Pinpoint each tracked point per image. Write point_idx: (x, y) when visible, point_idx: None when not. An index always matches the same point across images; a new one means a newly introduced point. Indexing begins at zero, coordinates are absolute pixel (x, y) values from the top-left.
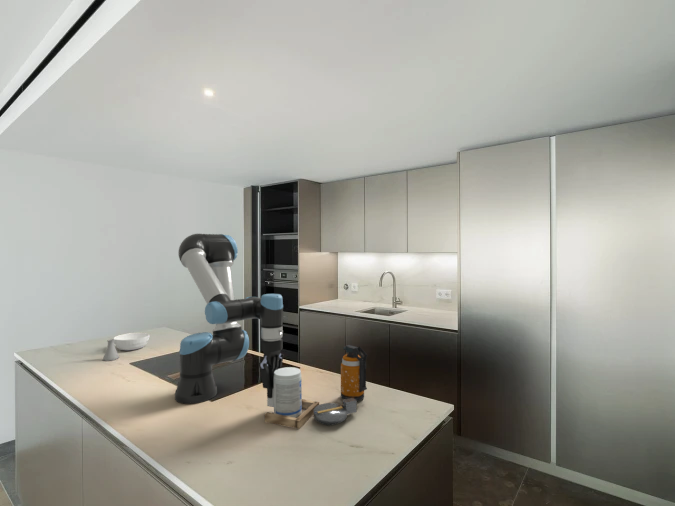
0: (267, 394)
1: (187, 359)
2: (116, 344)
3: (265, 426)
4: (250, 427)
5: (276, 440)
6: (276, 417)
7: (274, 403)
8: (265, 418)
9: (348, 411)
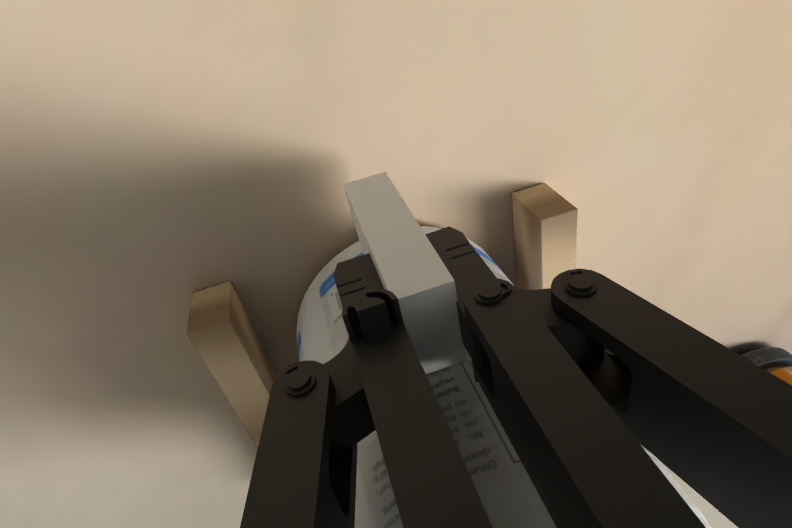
0: (339, 293)
1: None
2: None
3: (151, 345)
4: (31, 287)
5: (107, 493)
6: (234, 406)
7: (315, 359)
8: (193, 313)
9: None
